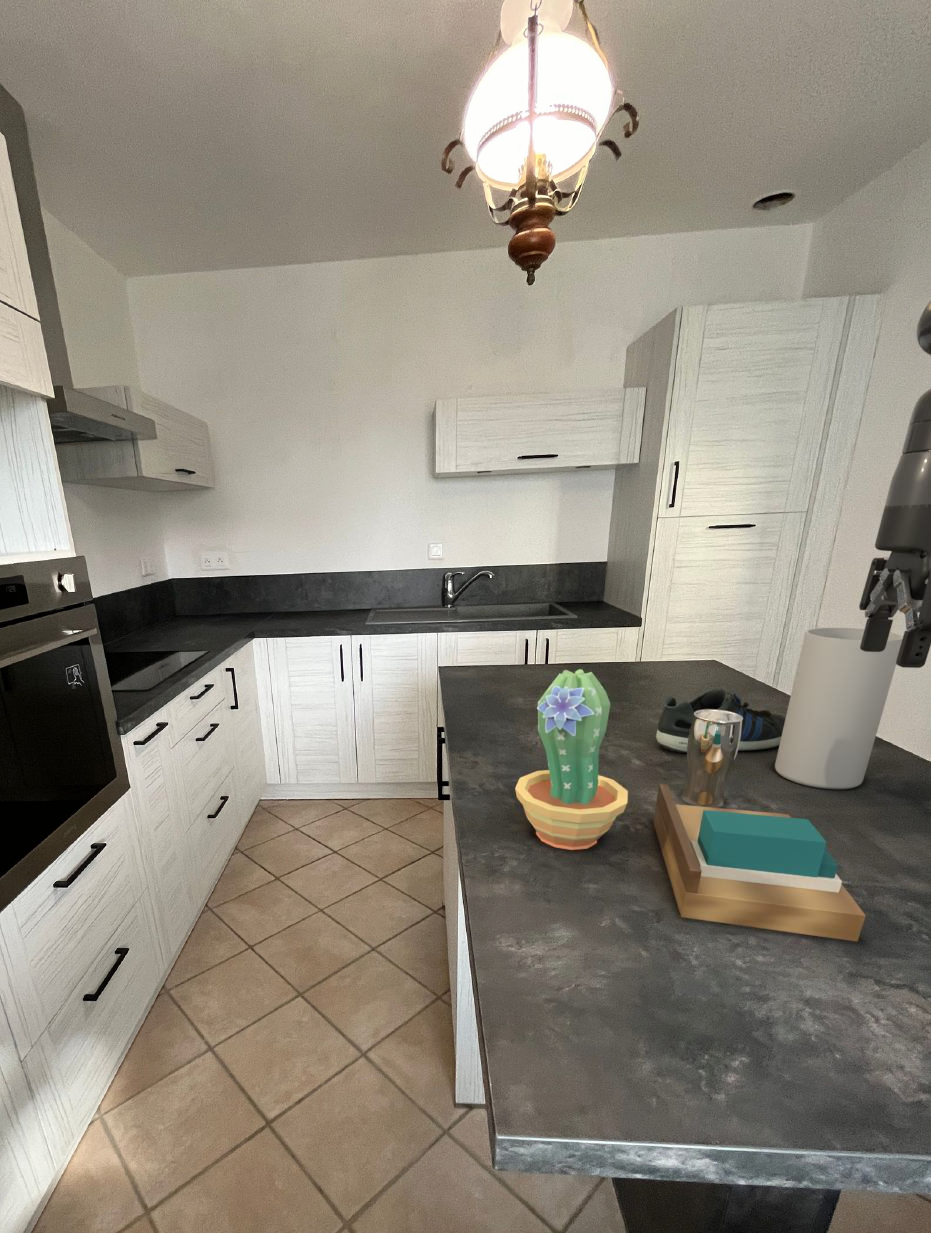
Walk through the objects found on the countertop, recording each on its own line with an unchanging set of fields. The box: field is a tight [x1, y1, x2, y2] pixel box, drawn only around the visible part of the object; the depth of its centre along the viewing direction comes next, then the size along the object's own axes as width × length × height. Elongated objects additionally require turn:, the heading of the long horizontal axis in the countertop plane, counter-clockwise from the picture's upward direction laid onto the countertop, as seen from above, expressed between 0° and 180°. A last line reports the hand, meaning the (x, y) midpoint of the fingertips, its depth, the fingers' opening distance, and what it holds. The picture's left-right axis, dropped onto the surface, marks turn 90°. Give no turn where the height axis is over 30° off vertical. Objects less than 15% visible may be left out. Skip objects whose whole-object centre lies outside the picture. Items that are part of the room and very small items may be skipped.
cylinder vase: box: [774, 627, 904, 790], centre depth 100 cm, size 12×12×25 cm
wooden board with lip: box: [653, 783, 866, 942], centre depth 75 cm, size 17×24×7 cm
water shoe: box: [655, 688, 786, 754], centre depth 118 cm, size 10×29×12 cm, turn 104°
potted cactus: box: [514, 668, 629, 851], centre depth 82 cm, size 15×15×25 cm
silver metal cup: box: [681, 709, 743, 808], centre depth 93 cm, size 7×7×15 cm
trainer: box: [691, 810, 843, 893], centre depth 69 cm, size 14×6×6 cm, turn 73°
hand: (889, 658), depth 66 cm, fingers open, 8 cm apart
